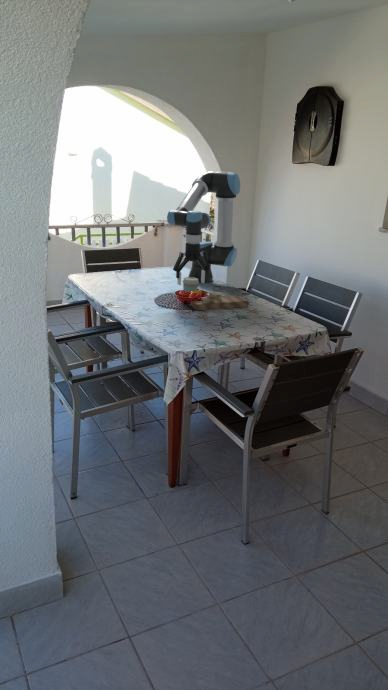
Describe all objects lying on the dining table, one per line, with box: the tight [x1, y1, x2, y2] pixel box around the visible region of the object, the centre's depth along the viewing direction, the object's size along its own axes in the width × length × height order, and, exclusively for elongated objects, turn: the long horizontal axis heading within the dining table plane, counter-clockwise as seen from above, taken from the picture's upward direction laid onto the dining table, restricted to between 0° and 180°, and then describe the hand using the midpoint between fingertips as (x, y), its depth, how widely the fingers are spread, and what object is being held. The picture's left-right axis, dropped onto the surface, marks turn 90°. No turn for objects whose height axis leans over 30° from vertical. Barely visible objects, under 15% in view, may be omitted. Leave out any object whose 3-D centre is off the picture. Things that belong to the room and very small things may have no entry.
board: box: [188, 295, 249, 311], centre depth 263 cm, size 30×10×3 cm, turn 116°
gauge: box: [200, 291, 223, 303], centre depth 258 cm, size 12×6×4 cm, turn 126°
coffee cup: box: [182, 276, 200, 292], centre depth 266 cm, size 9×9×12 cm
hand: (191, 283), depth 266 cm, fingers open, 13 cm apart
